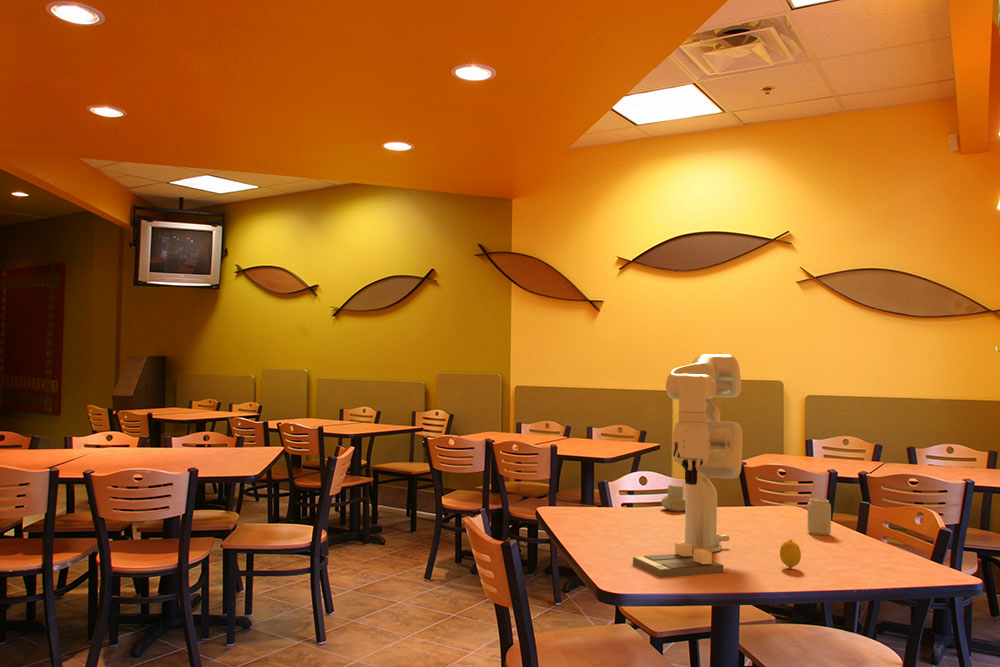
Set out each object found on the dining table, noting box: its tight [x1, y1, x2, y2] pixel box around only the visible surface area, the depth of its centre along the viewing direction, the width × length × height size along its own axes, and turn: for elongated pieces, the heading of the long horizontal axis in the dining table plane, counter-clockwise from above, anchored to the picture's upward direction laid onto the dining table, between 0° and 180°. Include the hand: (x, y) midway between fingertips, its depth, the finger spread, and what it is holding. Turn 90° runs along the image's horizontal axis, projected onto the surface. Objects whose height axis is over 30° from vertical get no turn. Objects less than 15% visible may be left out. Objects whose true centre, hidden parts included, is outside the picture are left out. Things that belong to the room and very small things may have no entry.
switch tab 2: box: [693, 549, 713, 564], centre depth 204 cm, size 3×4×3 cm
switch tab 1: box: [674, 541, 693, 556], centre depth 212 cm, size 3×4×3 cm
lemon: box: [779, 539, 802, 570], centre depth 210 cm, size 6×6×8 cm
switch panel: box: [632, 552, 724, 578], centre depth 206 cm, size 20×14×2 cm
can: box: [807, 498, 832, 536], centre depth 261 cm, size 8×8×12 cm
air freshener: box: [661, 483, 686, 513], centre depth 300 cm, size 11×8×10 cm
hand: (691, 483), depth 209 cm, fingers closed
